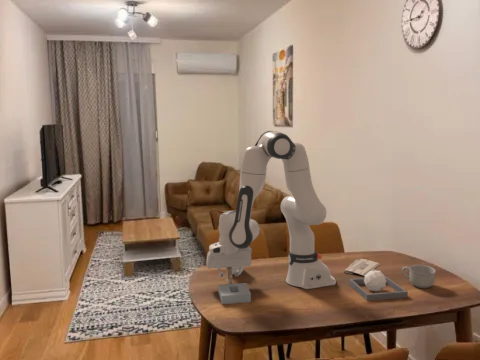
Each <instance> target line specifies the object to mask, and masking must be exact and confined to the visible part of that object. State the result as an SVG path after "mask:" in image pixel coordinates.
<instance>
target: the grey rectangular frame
mask: <svg viewBox="0 0 480 360" xmlns="http://www.w3.org/2000/svg"><path fill="white" fill-rule="evenodd" d="M385 278H386V285H388V286H389V287H390V288H391V289H393V290H394V291H389V292H374V293H368V292H367V291H366V290H365V289H364V288H363V287H361V285H365V282H364V279H365V277H361V278H360V277H358V278H349V279H348V285H349V286H350V287H351V288H352V289H353V290H354V291H356V292H357V293H358V294H359V295H360V296H361V297H362V298H363V299H365V301H367V302H368V301H379V300H380V301H381V300H392V299H393V300H394V299H408V294H409V293H408V291H407V290H406V289H405V288H403V287H402V286H401V285H399V284H397V283H396V282H394V280H392V279H391V278H389V276H385Z"/></svg>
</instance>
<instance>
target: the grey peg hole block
mask: <svg viewBox="0 0 480 360" xmlns="http://www.w3.org/2000/svg"><path fill="white" fill-rule="evenodd" d="M217 288H218V289H217V290H218V292H217V293H218V296H219V300H220V303H221V305H227V304H228V305H229V304H231V305H232V304H242V303H251V302H252V293H251V291H250V289H249V287H248V284H247V282H242V283H241V282H240V283H232V284H227V283H226V284H223V283H222V284H218V286H217Z"/></svg>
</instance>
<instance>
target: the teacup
mask: <svg viewBox="0 0 480 360" xmlns="http://www.w3.org/2000/svg"><path fill="white" fill-rule="evenodd" d="M405 270H407V271H408V273H409V274H407V273H406V272H405ZM436 271H437V270H436V269H435V268H434V267H432V266H429V265H426V264H413V265H411V266H403V267H402V268H401V273H402V274H403V276H405V277H406V278H407V279H408V280H409V282H410V283H411V284H412V285H413V286H414V287H415V288H418V289H428V288H431V287H432V286H433V285H434V284H435V280H436V279H435V278H436Z"/></svg>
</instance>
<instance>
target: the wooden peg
mask: <svg viewBox="0 0 480 360" xmlns="http://www.w3.org/2000/svg"><path fill="white" fill-rule="evenodd" d="M225 269H226V270H225V273H226V274H225V276H226V277H225V278H226V280H225V281H226V282H225V283H226V284H233V274H232V267H228V268H225Z"/></svg>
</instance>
